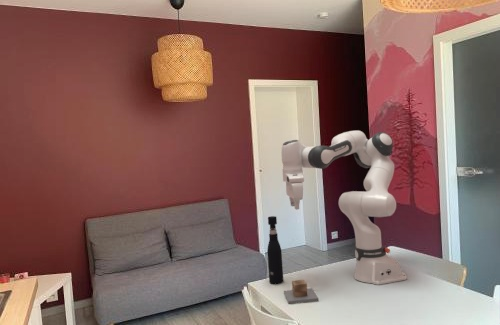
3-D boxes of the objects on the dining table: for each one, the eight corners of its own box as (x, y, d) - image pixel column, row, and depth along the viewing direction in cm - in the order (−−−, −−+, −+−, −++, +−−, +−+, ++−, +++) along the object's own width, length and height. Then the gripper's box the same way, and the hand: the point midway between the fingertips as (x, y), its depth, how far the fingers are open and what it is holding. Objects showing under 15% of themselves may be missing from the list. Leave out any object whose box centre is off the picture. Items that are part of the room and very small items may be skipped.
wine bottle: (283, 279, 176) (279, 215, 175) (283, 284, 170) (279, 218, 169) (269, 279, 177) (265, 216, 176) (269, 284, 171) (264, 218, 170)
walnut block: (304, 291, 157) (303, 279, 157) (307, 296, 152) (306, 283, 152) (292, 292, 156) (291, 280, 156) (295, 297, 151) (294, 285, 151)
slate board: (311, 290, 160) (311, 288, 160) (318, 301, 149) (318, 298, 149) (283, 293, 159) (283, 290, 159) (288, 304, 148) (288, 301, 148)
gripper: (282, 175, 179) (284, 204, 179) (290, 179, 158) (292, 211, 159) (295, 174, 179) (297, 203, 180) (304, 177, 159) (306, 210, 159)
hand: (294, 207), depth 169 cm, fingers open, 8 cm apart
